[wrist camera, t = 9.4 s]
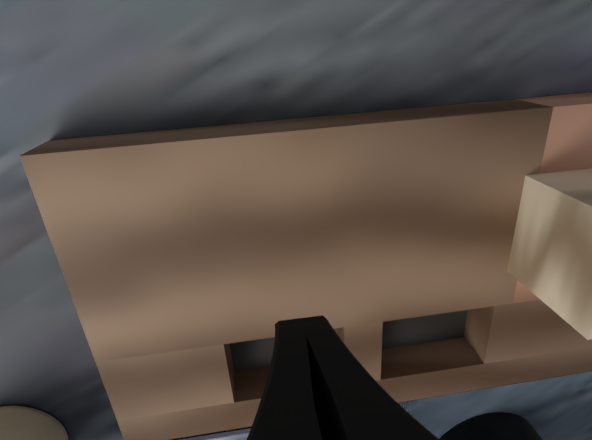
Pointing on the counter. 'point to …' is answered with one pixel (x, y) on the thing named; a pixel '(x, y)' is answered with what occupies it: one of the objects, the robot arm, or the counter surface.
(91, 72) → the counter surface
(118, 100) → the counter surface
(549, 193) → the maple block
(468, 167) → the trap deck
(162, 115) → the counter surface
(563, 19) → the counter surface
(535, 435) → the water bottle
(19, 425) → the cream domed cylinder
